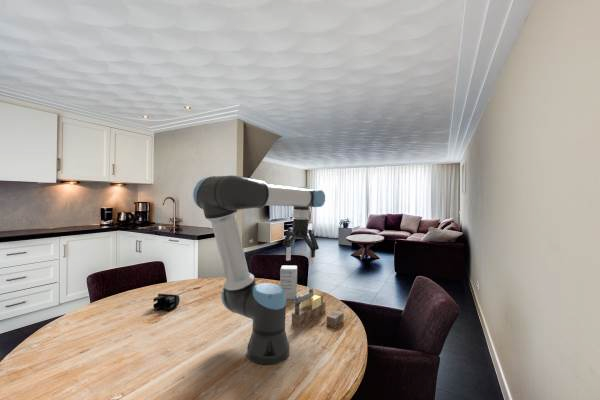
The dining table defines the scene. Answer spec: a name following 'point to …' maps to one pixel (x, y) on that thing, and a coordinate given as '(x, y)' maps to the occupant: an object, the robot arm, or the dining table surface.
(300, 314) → the body
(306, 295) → the lever
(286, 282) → the supplement box
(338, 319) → the block
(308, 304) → the gold metallic block
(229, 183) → the robot arm
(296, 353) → the dining table surface
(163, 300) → the end cap
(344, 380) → the dining table surface
